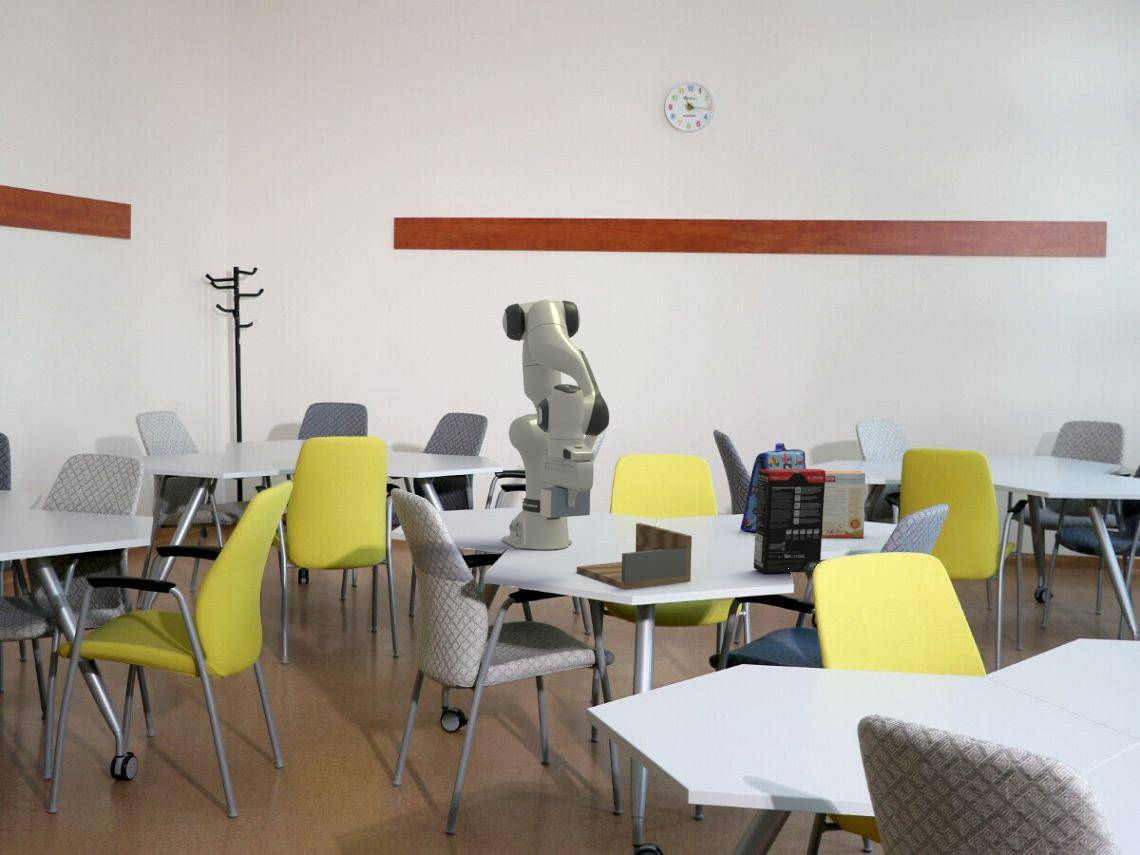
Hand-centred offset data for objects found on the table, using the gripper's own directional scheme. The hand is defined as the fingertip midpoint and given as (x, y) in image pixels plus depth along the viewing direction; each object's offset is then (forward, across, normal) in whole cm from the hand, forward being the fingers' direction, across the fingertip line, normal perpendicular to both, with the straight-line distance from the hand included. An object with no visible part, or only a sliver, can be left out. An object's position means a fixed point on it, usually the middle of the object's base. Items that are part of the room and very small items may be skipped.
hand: (564, 505), depth 262 cm
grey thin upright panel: (+17, +16, +16) cm, 29 cm away
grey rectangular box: (+3, 0, 0) cm, 3 cm away
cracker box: (+19, -14, +111) cm, 113 cm away
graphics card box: (+19, +19, +58) cm, 64 cm away
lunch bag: (+19, -32, +101) cm, 108 cm away
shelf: (+18, +6, +17) cm, 26 cm away
